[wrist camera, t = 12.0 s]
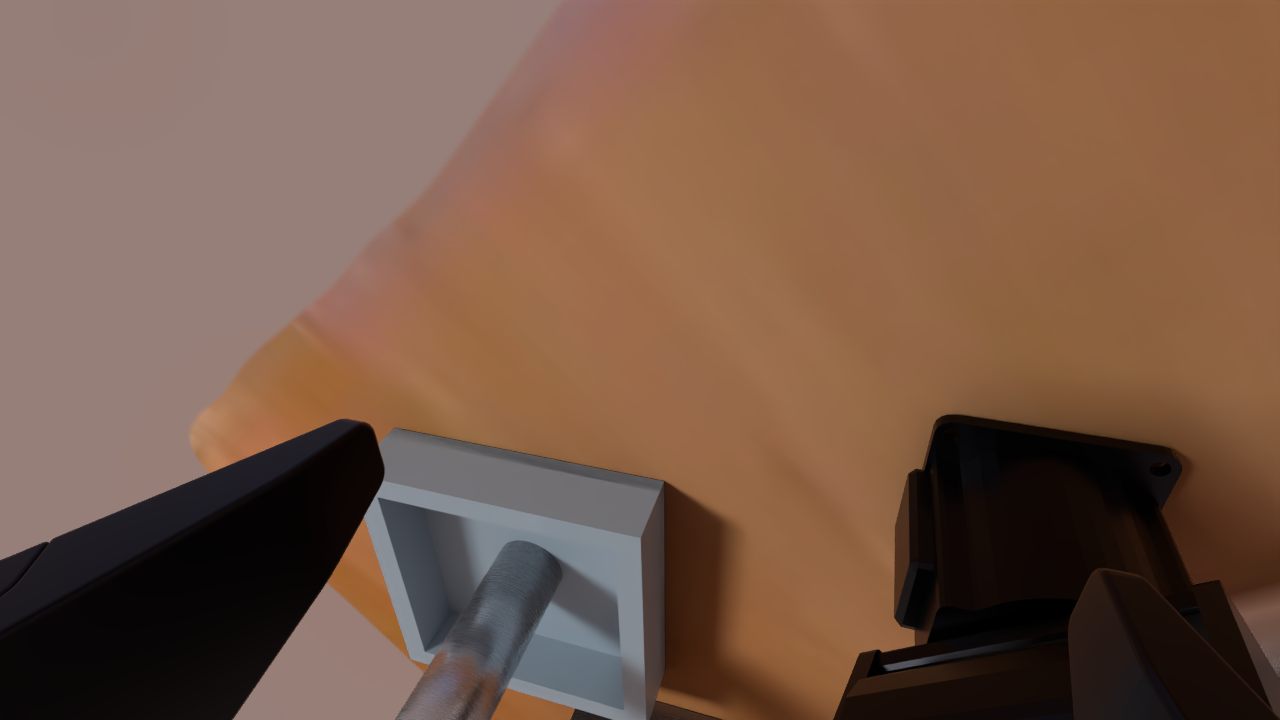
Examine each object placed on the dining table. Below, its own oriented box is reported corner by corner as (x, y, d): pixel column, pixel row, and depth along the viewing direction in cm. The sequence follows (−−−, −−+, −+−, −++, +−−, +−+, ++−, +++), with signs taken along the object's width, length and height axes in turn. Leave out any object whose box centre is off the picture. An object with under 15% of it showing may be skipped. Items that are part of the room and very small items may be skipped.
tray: (664, 481, 27) (640, 538, 24) (665, 670, 33) (646, 729, 31) (394, 427, 30) (349, 473, 27) (443, 609, 36) (410, 659, 34)
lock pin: (580, 571, 30) (406, 929, 20) (544, 602, 32) (368, 942, 22) (517, 525, 30) (305, 865, 19) (484, 559, 32) (277, 883, 21)
